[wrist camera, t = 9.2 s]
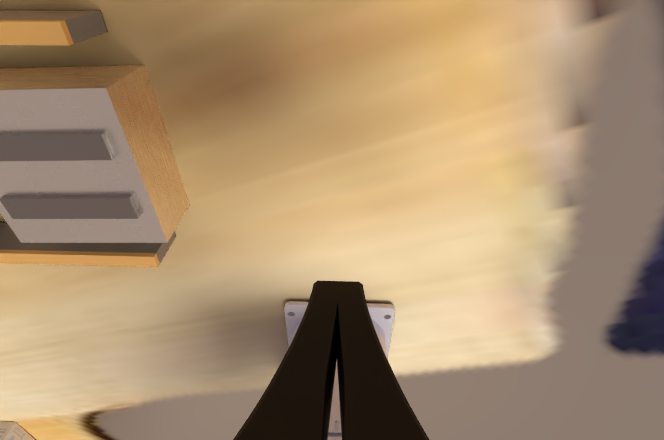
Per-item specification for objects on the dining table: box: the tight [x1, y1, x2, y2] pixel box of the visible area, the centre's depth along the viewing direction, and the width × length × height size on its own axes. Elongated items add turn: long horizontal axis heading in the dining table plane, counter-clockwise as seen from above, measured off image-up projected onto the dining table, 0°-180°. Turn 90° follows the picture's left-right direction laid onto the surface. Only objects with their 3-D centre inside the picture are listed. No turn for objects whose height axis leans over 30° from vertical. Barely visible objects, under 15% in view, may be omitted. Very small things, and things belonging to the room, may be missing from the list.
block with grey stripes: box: [0, 65, 190, 243], centre depth 18 cm, size 8×8×4 cm
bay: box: [0, 10, 176, 267], centre depth 19 cm, size 13×12×3 cm
